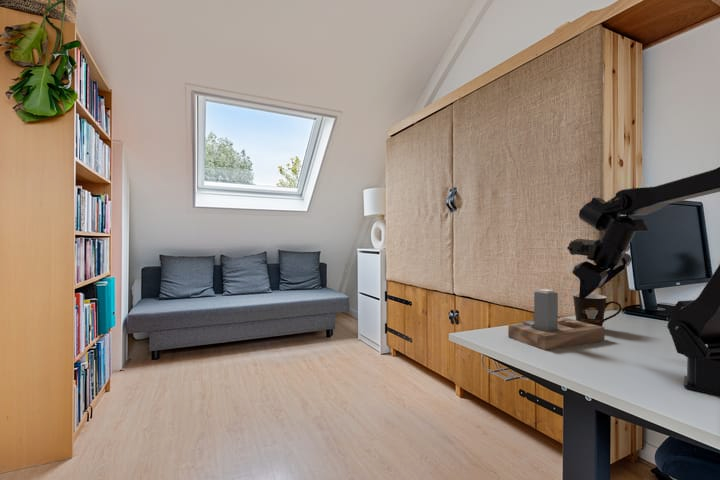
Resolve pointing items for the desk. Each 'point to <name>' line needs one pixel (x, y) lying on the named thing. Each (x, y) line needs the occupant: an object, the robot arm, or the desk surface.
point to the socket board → (556, 334)
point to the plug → (546, 310)
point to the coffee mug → (592, 309)
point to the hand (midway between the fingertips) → (589, 292)
